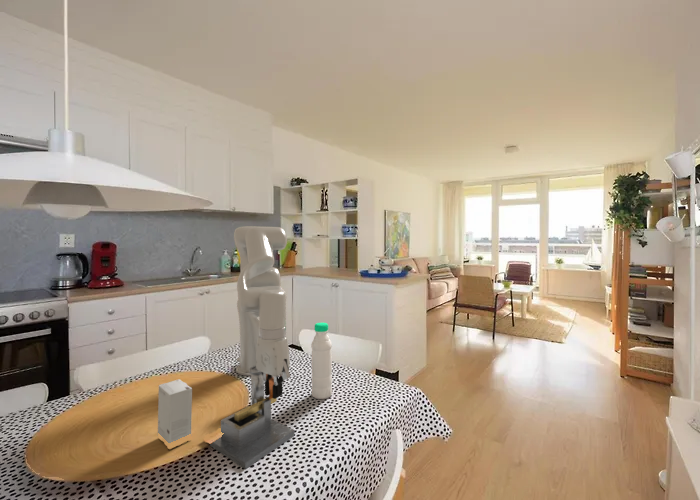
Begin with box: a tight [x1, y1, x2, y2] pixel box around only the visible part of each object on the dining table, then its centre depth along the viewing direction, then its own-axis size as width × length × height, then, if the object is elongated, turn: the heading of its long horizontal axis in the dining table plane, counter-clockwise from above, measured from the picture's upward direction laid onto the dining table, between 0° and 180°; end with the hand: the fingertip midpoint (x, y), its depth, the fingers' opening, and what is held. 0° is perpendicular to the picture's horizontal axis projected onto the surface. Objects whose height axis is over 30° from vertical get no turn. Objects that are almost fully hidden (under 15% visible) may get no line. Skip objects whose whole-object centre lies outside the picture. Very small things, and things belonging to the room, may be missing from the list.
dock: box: [209, 396, 295, 470], centre depth 87 cm, size 18×16×9 cm
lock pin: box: [233, 376, 278, 422], centre depth 90 cm, size 3×14×7 cm, turn 144°
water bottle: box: [310, 322, 333, 400], centre depth 111 cm, size 7×7×25 cm
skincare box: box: [157, 378, 193, 443], centre depth 87 cm, size 8×6×15 cm
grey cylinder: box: [249, 366, 265, 405], centre depth 105 cm, size 5×5×12 cm
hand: (273, 394), depth 94 cm, fingers closed on lock pin, 2 cm apart
